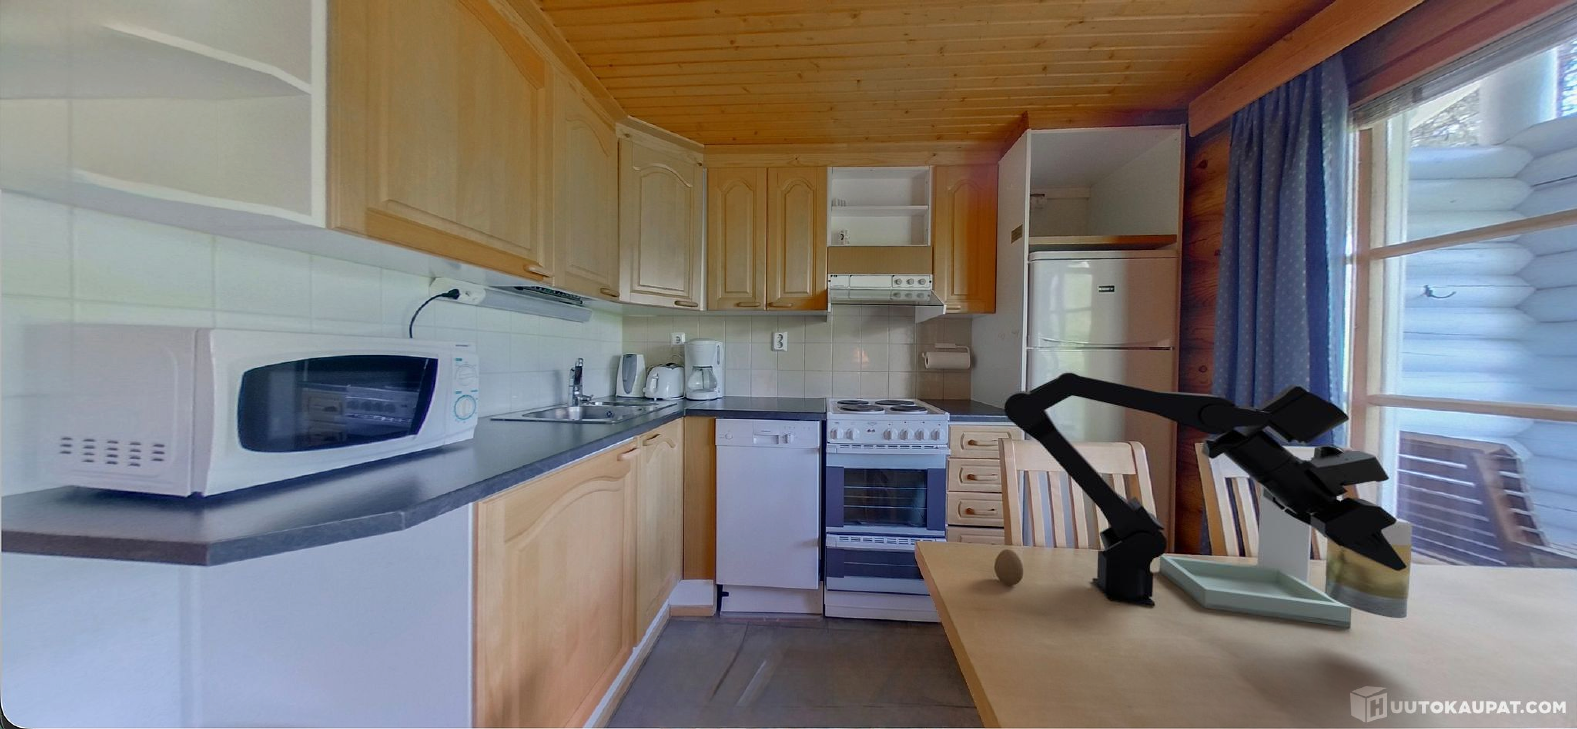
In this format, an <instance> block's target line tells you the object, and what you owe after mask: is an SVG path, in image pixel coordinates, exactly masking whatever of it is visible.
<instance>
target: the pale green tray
mask: <svg viewBox="0 0 1577 729" xmlns="http://www.w3.org/2000/svg"><path fill="white" fill-rule="evenodd" d="M1159 572H1160V573H1161V574H1163V575H1164V576H1165V577H1166V578H1168V579H1169V580H1170V581H1171V582H1172V583H1174V585H1176V586H1177V587H1178V588H1180V589H1181V590H1183V591H1184V592H1185V593H1186V594H1187V595H1189V596H1190V597H1191V598H1193V599H1194V600H1195V601H1196V602H1197V603H1198V604H1200V605H1201V606H1202V607H1203V608H1204V609H1212V610H1218V611H1227V612H1234V613H1242V614H1249V615H1255V616H1256V615H1257V616H1262V617H1263V616H1264V617H1271V618H1278V619H1284V620H1285V619H1286V620H1293V621H1301V622H1306V623H1313V624H1323V625H1331V626H1337V627H1345V628H1351V626H1352V607H1350V606H1347V605H1345V604H1342V603H1340V602H1338V601H1336V600H1334V599H1332V598H1330V597H1329V596H1328V595H1326V593H1325V591H1322V590H1320V589H1318V588H1316V587H1315V586H1313V585H1311V584H1309V583H1305V582H1304V581H1302V580H1300V579H1298V578H1296V577H1294V576H1293V575H1291V574H1289V573H1287V572H1285V571H1284V570H1282V569H1278V568H1269V567H1260V566H1257V565H1251V564H1241V563H1234V562H1233V563H1231V562H1223V561H1214V560H1206V559H1205V560H1204V559H1199V558H1197V559H1196V558H1189V557H1187V558H1186V557H1181V556H1180V557H1179V556H1173V555H1172V556H1170V555H1169V556H1168V555H1164V554H1162V555H1161V556H1159Z"/></svg>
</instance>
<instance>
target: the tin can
mask: <svg viewBox="0 0 1577 729" xmlns="http://www.w3.org/2000/svg"><path fill="white" fill-rule="evenodd" d="M1393 517H1394V518H1395V519H1397V521H1396V522H1395V524H1393V525H1391V526H1389V527H1387V528H1384V529H1382V534H1383V535H1384V537H1385V538H1386V540H1387V541H1388V542H1389V544H1390V545H1391V546H1392V548H1393V549H1394V550H1395V552H1396V553H1397V554H1398V555H1399V557H1400V558H1401V559H1402V561H1403V562H1404V563H1405V565H1406V566H1407V567H1406V568H1405V569H1402V570H1400V571H1396V570H1394V569H1392V568H1389V567H1387V566H1385V565H1383V564H1381V563H1378V562H1376V561H1374V560H1372V559H1370V558H1367V557H1365V556H1363V555H1361V554H1358V553H1356V552H1354V551H1352V550H1349V549H1347V548H1345V547H1343V546H1338V545H1337V544H1335V543H1333V542H1332V541H1330V540H1329V539H1327V538H1326V539H1327V541H1326V558H1325V560H1326V562H1325V575H1324V576H1325V585H1324V586H1325V587H1324V593H1326V595H1328V596H1329V597H1330V598H1332V599H1334V600H1336V601H1338V602H1340V603H1342V604H1345V605H1347V606H1349V607H1351V609H1352V608H1353V609H1356V610H1358V611H1362V612H1364V613H1368V614H1373V615H1375V616H1376V615H1377V616H1381V617H1386V618H1392V619H1404V618H1406V617H1407V614H1408V613H1407V612H1408V598H1409V591H1410V579H1411V576H1410V575H1411V562H1412V560H1411V559H1412V546H1413V545H1412V544H1413V543H1412V536H1413V535H1412V532H1413V524H1412V522H1409V521H1408V520H1405V519H1403V518H1399V517H1395V516H1393Z"/></svg>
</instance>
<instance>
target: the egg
mask: <svg viewBox="0 0 1577 729" xmlns="http://www.w3.org/2000/svg"><path fill="white" fill-rule="evenodd" d="M994 561H995V562H994V567H993V568H994V573H995V574H996V577H997V578H998V580H1000V582H1001V583H1002V584H1004V585H1007V586H1015V585H1018V584H1019V583H1020V582H1021V581H1022V579H1023V575H1024V567H1023V563H1022V561H1021V559H1020V557H1019V555H1018V554H1017V553H1016V552H1015V551H1014V550H1012V549H1009V548H1007V549H1003V550H1001V551H1000V552H999V553H998V555H997V556H996V558H995V560H994Z"/></svg>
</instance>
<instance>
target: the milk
mask: <svg viewBox="0 0 1577 729" xmlns="http://www.w3.org/2000/svg"><path fill="white" fill-rule="evenodd" d="M1300 459H1301V460H1305V459H1303V458H1300ZM1306 460H1307V461H1309V460H1310V459H1306ZM1285 509H1287V508H1286V507H1285ZM1285 509H1283V510H1281V509H1279V508H1278V507H1276V506H1274V505H1273V504H1272V503H1271V502H1270V501H1269V500H1267V499H1266V498H1265V497H1264V496H1263V487H1262V486H1261V485H1260V499H1259V520H1258V522H1259V523H1258V539H1257V540H1258V542H1257V543H1258V546H1257V564H1256V566H1260V567H1269V568H1278V569H1282V570H1284V571H1285V572H1287V573H1289V574H1291V575H1293V576H1294V577H1296V578H1298V579H1300V580H1302V581H1304V582H1305V583H1307V584H1309V579H1310V562H1311V561H1310V560H1311V543H1312V542H1311V541H1312V538H1311V537H1312V526H1311V525H1308V524H1306V523H1304V522H1302V521H1300V520H1298V519H1296V518H1294V517H1292V516H1290V515H1289V514H1287V513H1286V512H1284V511H1285Z"/></svg>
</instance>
